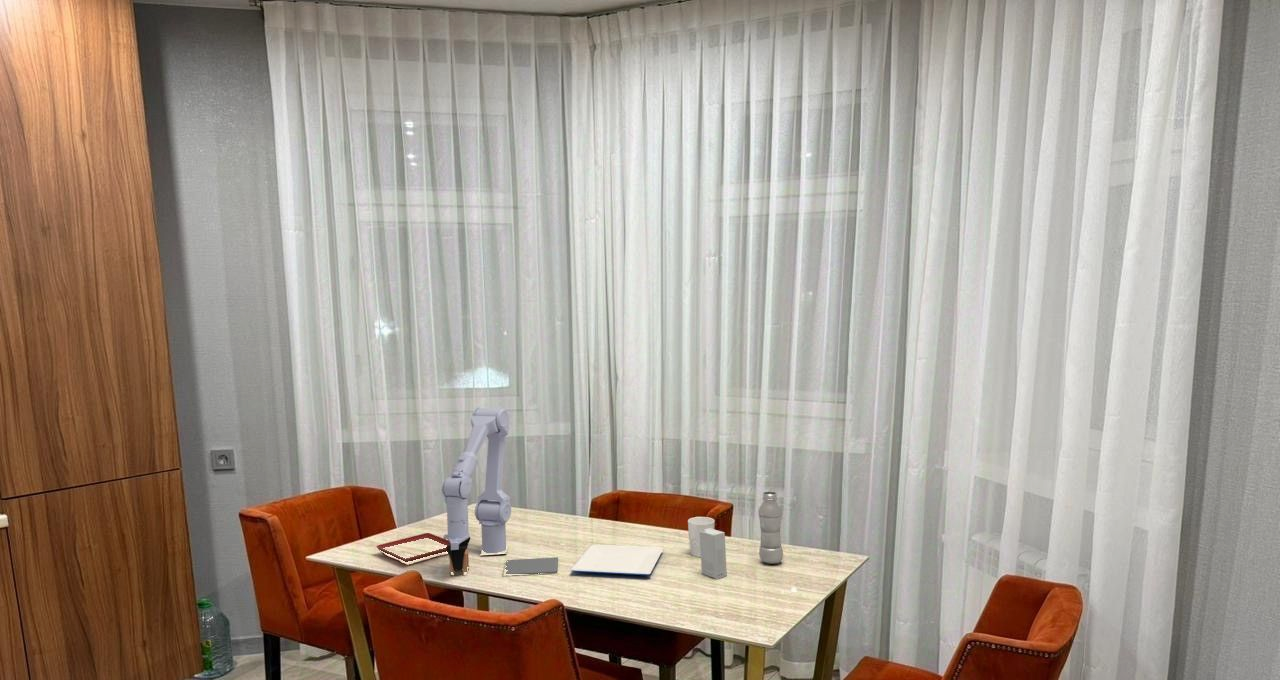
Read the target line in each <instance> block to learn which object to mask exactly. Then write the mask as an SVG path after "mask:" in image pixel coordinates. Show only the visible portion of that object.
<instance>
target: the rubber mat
mask: <svg viewBox="0 0 1280 680" xmlns="http://www.w3.org/2000/svg"><path fill="white" fill-rule="evenodd" d="M506 560H507V561H508V562H507V561H505V564H504V566H505V565H506V566H507V567H506V568H505V567H504V568H505V569H506V570H508V571H507V572H506V574H538V573H539V574H540V573H557V572H558V568H559V557H558V556H557V557H555V556H553V557H541V558H540V557H539V558H537V557H536V558H521V559H517V558H516V559H506ZM540 575H541V574H540Z"/></svg>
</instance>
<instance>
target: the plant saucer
mask: <svg viewBox="0 0 1280 680" xmlns="http://www.w3.org/2000/svg"><path fill="white" fill-rule="evenodd" d="M424 538H429V539H432V540H434V541H437V542H439V543H441V544H444V545H447V546H448V545H451V543H450V542H449V541H448V539H444V537H441V536H439V535H436V534H433V533H431V532H425V533H421V534H417V535H413V536H409V537H405V538H401V539H396V540H393V541H390V542H385V543H382V544H378V545H376V548H377V549H378V550H379V551H380V550H381V551H383V552H385V553H387V554H390V555H392V556H394V557H396V558H398V559H401V560H403V561H405V562H408V561H413V560H416V559H420V558H423V557H427V556H430V555H434V554H438V553H442V552H446V551H447V550H446V548H443V549H439V550H436V551H432V552H428V553H425V554H421V555H417V556H414V557H410V558H406V559H405V558H403V557H400V556H398V555H396V554H394V553H392V552H389V551H387V550H385V549H383V548H385V547H390V546H394V545H398V544H402V543H407V542H411V541H416V540H419V539H424ZM381 551H380V552H381Z"/></svg>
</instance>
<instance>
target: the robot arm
mask: <svg viewBox="0 0 1280 680" xmlns="http://www.w3.org/2000/svg"><path fill="white" fill-rule="evenodd" d="M470 424H471V427H472V428H471V431H470V435H469V438H468V440H467V445H466V447H465V450H464V452H462V453H460V454H459V455H458V457H457V459H456V462H455V464H454V466H453V468H452V471H451V473H450V475H449V476H448V477H447V478H446V479H445V480H443V482H442V486H441V494H442V496H443V498H444V503H445V504H446V516H447V517H446V522H447V525H446V526H447V534H444V535H443V537H442V538H444V539H446V540H448V541H449V542H450V543H451V545H448V546H447V547H446V550H447V552H448V554H447V555H448V556H450V558H451V561H452V565H453V569H454V571H456V572H460V571H462V572H463V569H462V567H463V560H464V554H465V551H466V549H468V547H469V544H470V541H471V540H472V538H471V537H470V533H469V508H468V506H469V505H468V504H469V503H468V501H469V499H468V497H469V496H470V494H471V492H472V488H473V484H472V483H473V475H474V474H475V470H476V468H477V465H478V463H479V460H478V458H477V455H478V453H479V451H480V450H481V448H482V446H483V444H484V442H485V441H486V438H487V440H488V442H487V457H486V469H485V470H486V472H485V473H486V474H485V485H484V486H485V487H484V491H483V492H481V494H479V495H478V496H477V501H476V505H475V507H474V516H475V519H476V520H477V521H478V524H479V525H481V549H482V550H483V551H484V552H486V553H498V552H502V551H505V550H506V544H507V534H506V533H507V529H506V527H507V526H506V523H508V521H509V520H510V518H511V515H512V507H511V497H510V496H509V495H508V494H506V493H505V491H503V487H504V486H503V484H504V483H503V482H504V470H505V469H504V468H505V466H504V465H505V453H506V451H505V450H506V438H507V437H506V436H508V435H509V431H510V430H509V429H510V414H509V412H508V411H507V409H505V408H504V407H503V408H493V407H492V408H489V407H487V408H485V407H484V408H483V407H482V408H481V407H476V408H475V409H474V410H473V412H472V414H471V418H470Z"/></svg>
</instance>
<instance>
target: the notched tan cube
mask: <svg viewBox="0 0 1280 680" xmlns="http://www.w3.org/2000/svg"><path fill="white" fill-rule="evenodd" d="M448 556H449V555H448ZM469 558H470V557H469V548H467V549H466V551H465V554H464V560H463V567H462V573H463V572H467V573H468V571H467V567H469V568H470V562H469V561H470V560H469ZM448 559H449V561H448V562H449V573H450V572H454V569H453V565H452V561H451V558H450V556H449V557H448ZM454 573H455V572H454Z"/></svg>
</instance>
